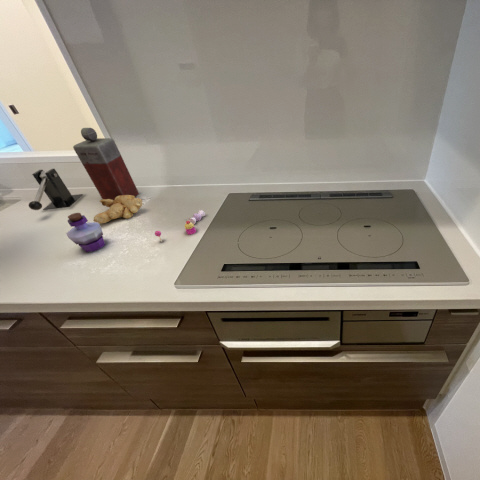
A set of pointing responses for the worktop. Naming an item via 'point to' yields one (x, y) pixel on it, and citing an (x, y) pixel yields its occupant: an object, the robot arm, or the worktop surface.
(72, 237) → the potion bottle
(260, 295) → the worktop surface
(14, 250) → the worktop surface
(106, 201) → the ginger root
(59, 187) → the lever switch
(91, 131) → the red square bottle
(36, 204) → the tap lever
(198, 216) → the pink and purple pieces
